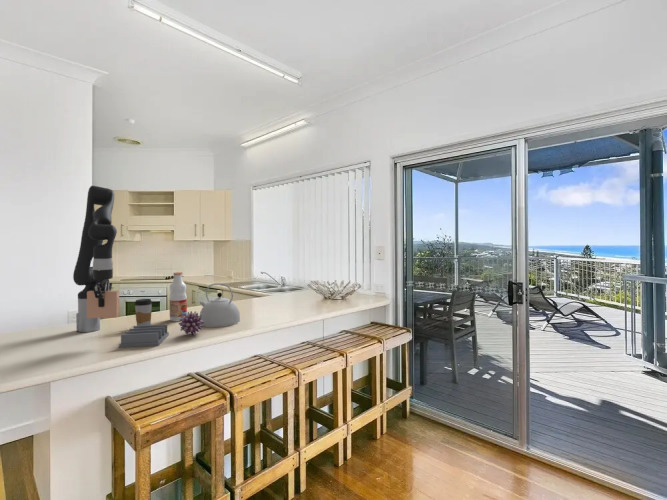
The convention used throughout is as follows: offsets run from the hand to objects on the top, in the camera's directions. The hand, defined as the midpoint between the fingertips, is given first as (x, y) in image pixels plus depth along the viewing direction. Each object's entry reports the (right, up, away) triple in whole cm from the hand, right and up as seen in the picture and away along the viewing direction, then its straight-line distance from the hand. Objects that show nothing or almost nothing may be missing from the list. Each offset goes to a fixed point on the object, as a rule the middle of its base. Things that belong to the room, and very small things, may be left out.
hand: (103, 306), depth 155 cm
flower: (+34, -17, +15) cm, 41 cm away
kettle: (+38, -16, +42) cm, 59 cm away
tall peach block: (0, -5, 0) cm, 5 cm away
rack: (+17, -17, +4) cm, 25 cm away
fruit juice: (+13, -16, +48) cm, 52 cm away
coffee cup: (+2, -17, +29) cm, 33 cm away
